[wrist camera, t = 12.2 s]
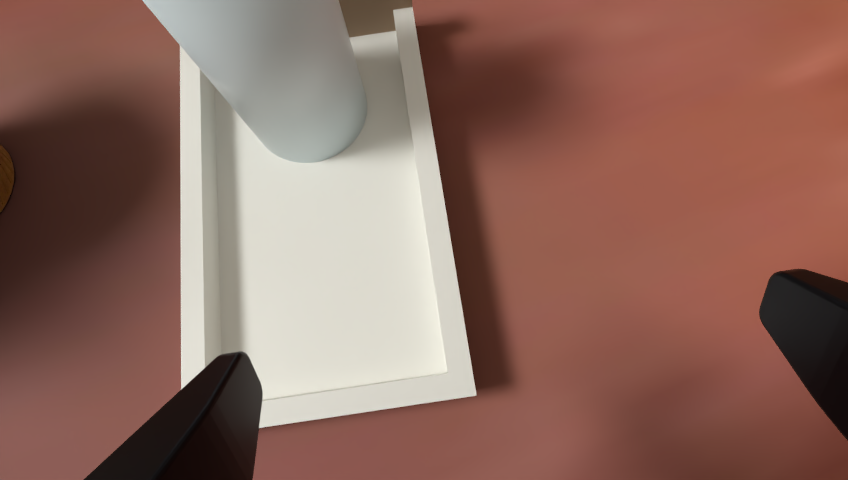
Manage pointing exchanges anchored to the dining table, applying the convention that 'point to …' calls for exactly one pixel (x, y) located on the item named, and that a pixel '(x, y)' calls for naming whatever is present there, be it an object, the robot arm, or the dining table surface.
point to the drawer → (324, 245)
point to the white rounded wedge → (277, 68)
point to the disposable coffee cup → (5, 177)
